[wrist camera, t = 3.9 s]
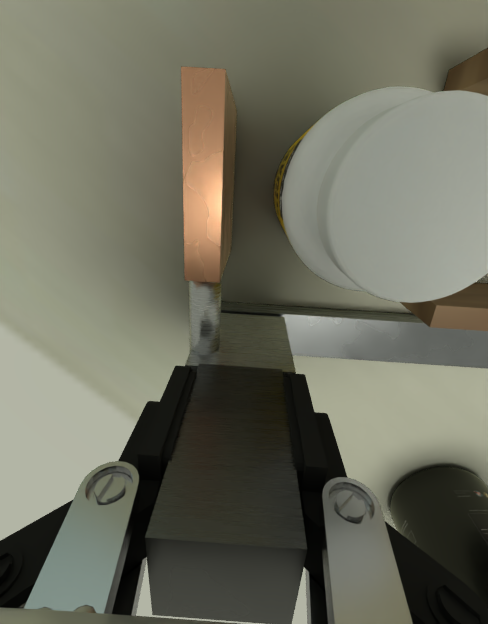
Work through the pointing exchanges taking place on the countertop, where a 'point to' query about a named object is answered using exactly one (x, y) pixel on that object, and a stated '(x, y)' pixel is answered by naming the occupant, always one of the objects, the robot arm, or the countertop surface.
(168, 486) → the carriage
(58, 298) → the countertop surface
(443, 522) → the supplement bottle
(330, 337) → the rail
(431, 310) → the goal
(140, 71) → the countertop surface
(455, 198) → the supplement bottle
